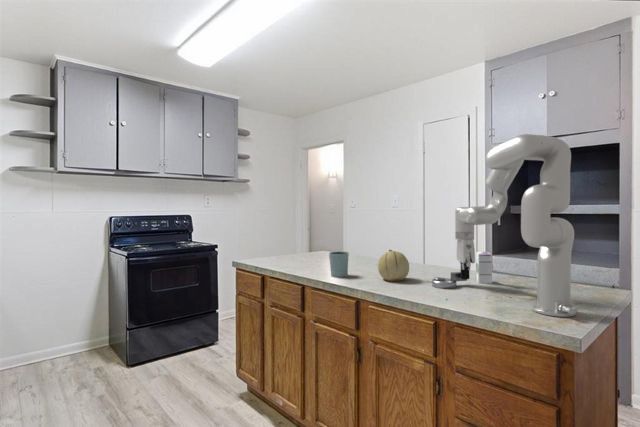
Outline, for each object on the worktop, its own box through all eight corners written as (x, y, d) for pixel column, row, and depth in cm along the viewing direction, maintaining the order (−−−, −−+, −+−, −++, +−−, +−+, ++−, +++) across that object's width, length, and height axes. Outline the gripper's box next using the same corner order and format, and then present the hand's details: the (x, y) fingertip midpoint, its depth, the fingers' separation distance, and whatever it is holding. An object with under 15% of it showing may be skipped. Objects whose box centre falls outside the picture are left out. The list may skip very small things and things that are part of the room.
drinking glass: (352, 276, 190) (351, 253, 190) (333, 278, 187) (333, 254, 186) (343, 273, 200) (343, 250, 199) (326, 275, 196) (325, 252, 196)
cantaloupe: (395, 286, 166) (395, 253, 166) (371, 281, 178) (371, 250, 177) (416, 282, 176) (416, 250, 175) (391, 277, 187) (391, 247, 187)
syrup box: (492, 286, 166) (492, 253, 165) (478, 285, 167) (478, 253, 166) (489, 283, 171) (489, 251, 171) (475, 283, 172) (475, 251, 172)
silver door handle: (440, 289, 156) (440, 270, 155) (427, 284, 165) (427, 266, 165) (475, 286, 160) (475, 268, 160) (460, 282, 169) (460, 264, 169)
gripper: (480, 237, 152) (480, 282, 153) (467, 234, 167) (467, 275, 168) (461, 237, 153) (461, 282, 153) (450, 234, 168) (450, 275, 168)
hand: (465, 278), depth 161 cm, fingers closed
